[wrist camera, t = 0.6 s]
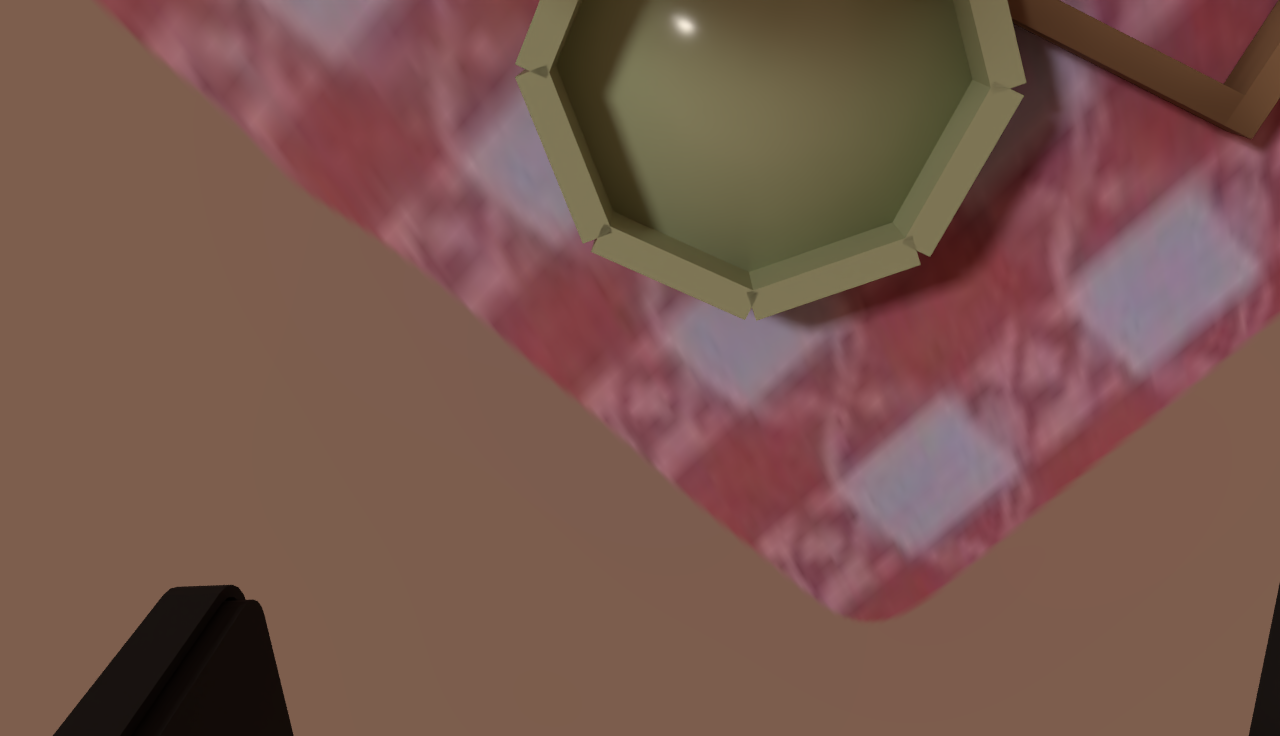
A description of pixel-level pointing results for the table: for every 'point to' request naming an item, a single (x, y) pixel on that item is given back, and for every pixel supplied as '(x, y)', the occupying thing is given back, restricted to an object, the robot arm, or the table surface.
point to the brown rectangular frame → (1167, 64)
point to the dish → (768, 134)
